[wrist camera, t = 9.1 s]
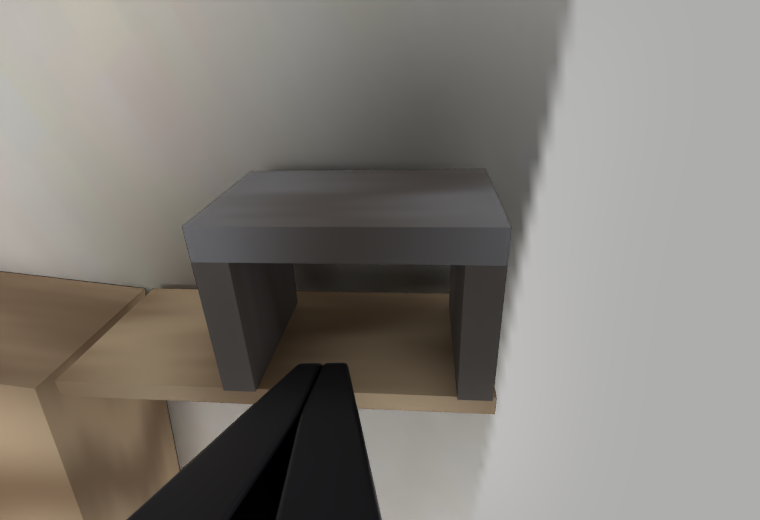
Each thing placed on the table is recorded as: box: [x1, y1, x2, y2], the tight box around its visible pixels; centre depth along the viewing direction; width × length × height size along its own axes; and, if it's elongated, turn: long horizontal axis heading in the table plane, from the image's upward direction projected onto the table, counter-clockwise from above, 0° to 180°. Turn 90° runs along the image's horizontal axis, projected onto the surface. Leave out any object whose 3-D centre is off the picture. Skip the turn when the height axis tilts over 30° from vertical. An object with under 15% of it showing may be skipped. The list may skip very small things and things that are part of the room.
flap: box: [55, 169, 512, 414], centre depth 12 cm, size 11×5×5 cm, turn 92°
